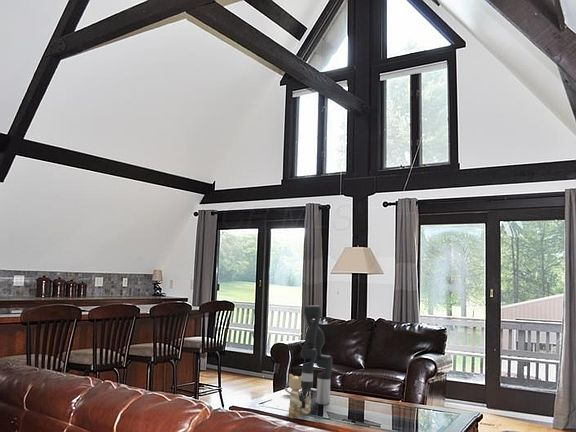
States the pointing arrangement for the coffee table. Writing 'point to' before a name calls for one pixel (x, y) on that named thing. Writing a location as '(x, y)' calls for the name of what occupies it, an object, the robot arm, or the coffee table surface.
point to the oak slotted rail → (296, 412)
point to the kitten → (294, 383)
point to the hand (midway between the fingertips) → (305, 407)
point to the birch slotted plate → (296, 402)
